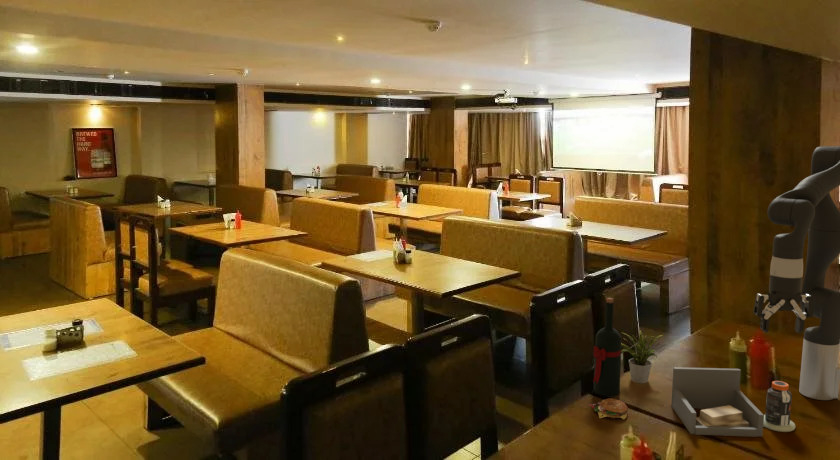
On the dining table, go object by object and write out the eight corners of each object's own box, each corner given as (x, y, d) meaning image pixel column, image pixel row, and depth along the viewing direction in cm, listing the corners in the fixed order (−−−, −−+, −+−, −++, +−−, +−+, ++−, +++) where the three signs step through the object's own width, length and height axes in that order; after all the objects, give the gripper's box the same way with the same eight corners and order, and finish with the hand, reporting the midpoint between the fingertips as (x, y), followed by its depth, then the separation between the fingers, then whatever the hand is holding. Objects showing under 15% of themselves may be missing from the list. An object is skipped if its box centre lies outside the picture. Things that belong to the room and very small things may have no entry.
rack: (736, 407, 182) (739, 368, 180) (762, 436, 165) (766, 394, 163) (671, 405, 184) (673, 367, 182) (690, 434, 166) (693, 392, 164)
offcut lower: (737, 423, 173) (738, 414, 173) (748, 431, 169) (749, 423, 168) (693, 426, 172) (693, 417, 172) (703, 434, 167) (703, 425, 167)
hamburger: (626, 403, 186) (627, 384, 185) (635, 425, 173) (636, 405, 172) (578, 401, 189) (579, 382, 188) (583, 422, 175) (584, 402, 174)
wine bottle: (583, 392, 193) (586, 299, 189) (603, 384, 200) (606, 293, 195) (605, 401, 187) (609, 305, 182) (624, 391, 194) (628, 298, 189)
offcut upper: (728, 413, 174) (729, 405, 174) (741, 420, 170) (742, 412, 169) (699, 418, 171) (700, 410, 171) (711, 426, 167) (712, 417, 166)
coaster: (785, 417, 175) (785, 415, 175) (801, 432, 167) (801, 430, 167) (752, 416, 176) (752, 414, 176) (766, 431, 168) (766, 429, 167)
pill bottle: (793, 427, 168) (796, 388, 166) (769, 426, 169) (772, 386, 167) (784, 417, 174) (788, 379, 172) (761, 416, 175) (764, 378, 173)
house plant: (645, 368, 212) (647, 322, 210) (674, 383, 199) (676, 335, 197) (610, 374, 208) (611, 327, 205) (636, 390, 195) (639, 340, 192)
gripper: (807, 270, 168) (802, 327, 171) (752, 270, 170) (748, 327, 172) (822, 276, 161) (816, 336, 164) (764, 276, 162) (760, 336, 165)
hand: (781, 331), depth 168 cm, fingers open, 8 cm apart
